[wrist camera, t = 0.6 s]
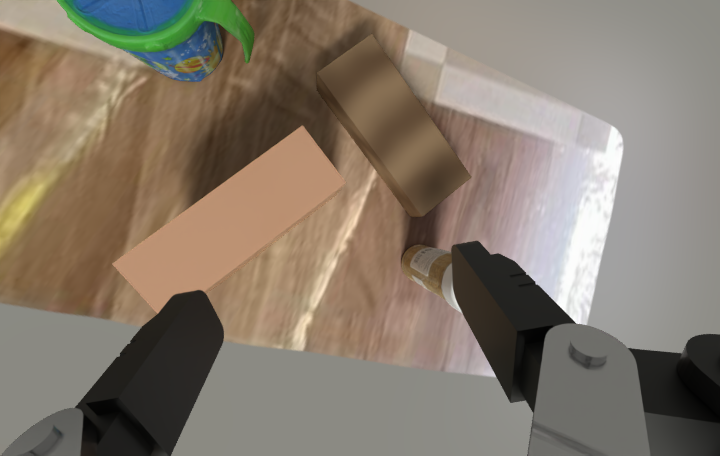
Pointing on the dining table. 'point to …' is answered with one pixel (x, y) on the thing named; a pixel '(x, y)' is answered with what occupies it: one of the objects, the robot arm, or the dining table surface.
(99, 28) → the snack cup
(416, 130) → the brown wooden bar
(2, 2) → the dining table surface
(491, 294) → the robot arm
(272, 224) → the block
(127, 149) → the dining table surface
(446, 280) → the sprinkles bottle
